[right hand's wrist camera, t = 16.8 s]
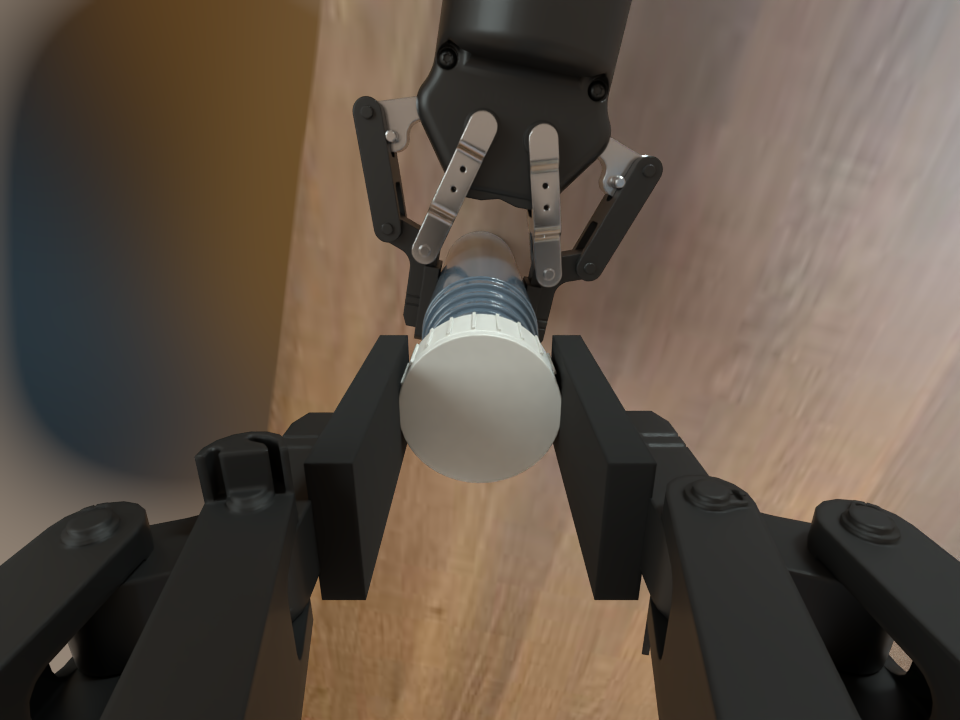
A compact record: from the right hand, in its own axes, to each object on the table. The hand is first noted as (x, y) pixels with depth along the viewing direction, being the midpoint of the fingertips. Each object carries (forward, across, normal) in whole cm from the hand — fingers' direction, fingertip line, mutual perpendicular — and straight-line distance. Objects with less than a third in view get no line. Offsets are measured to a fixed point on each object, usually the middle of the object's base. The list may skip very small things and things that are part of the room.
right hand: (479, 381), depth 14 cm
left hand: (+12, 0, -3) cm, 12 cm away
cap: (-2, 0, 0) cm, 2 cm away
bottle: (+18, 0, 0) cm, 18 cm away
